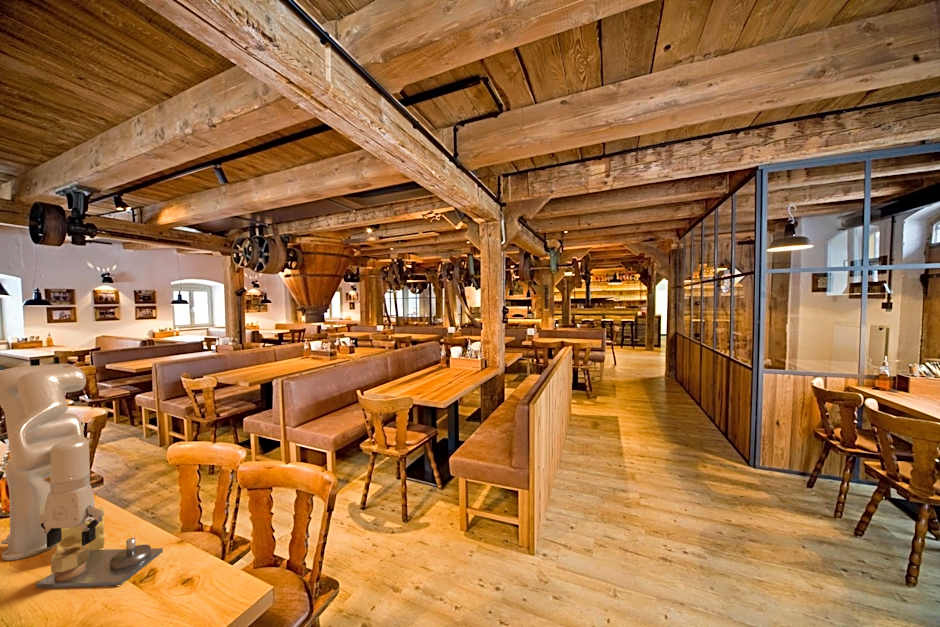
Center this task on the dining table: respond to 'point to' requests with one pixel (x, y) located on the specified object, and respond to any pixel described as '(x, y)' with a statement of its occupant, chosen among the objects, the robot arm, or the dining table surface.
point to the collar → (69, 557)
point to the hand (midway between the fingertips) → (71, 543)
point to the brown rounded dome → (70, 573)
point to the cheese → (75, 536)
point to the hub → (130, 555)
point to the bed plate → (99, 571)
